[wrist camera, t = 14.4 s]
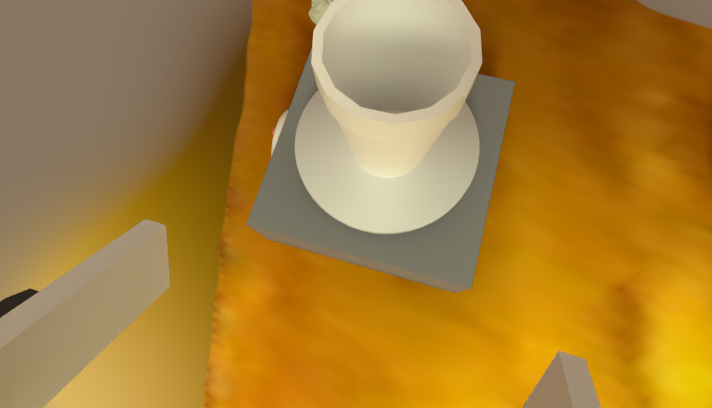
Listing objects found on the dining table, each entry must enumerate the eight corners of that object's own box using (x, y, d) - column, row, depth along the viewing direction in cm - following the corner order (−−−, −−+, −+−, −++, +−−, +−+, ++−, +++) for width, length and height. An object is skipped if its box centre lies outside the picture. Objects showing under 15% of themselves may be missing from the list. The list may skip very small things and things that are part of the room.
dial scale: (493, 117, 44) (522, 69, 36) (454, 292, 39) (477, 286, 31) (315, 75, 47) (301, 21, 38) (257, 236, 42) (226, 215, 33)
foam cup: (377, 217, 33) (378, 157, 20) (313, 136, 35) (278, 36, 22) (465, 151, 34) (519, 56, 21) (398, 77, 36) (410, -49, 23)
